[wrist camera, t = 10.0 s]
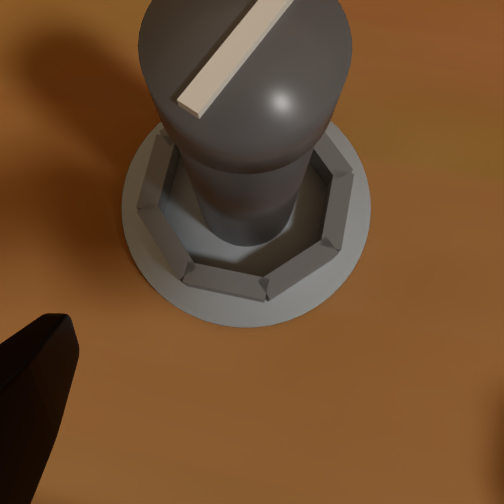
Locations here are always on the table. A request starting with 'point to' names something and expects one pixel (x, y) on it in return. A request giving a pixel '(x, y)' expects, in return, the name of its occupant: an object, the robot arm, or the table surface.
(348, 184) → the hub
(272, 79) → the knob
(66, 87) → the table surface
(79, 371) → the table surface
